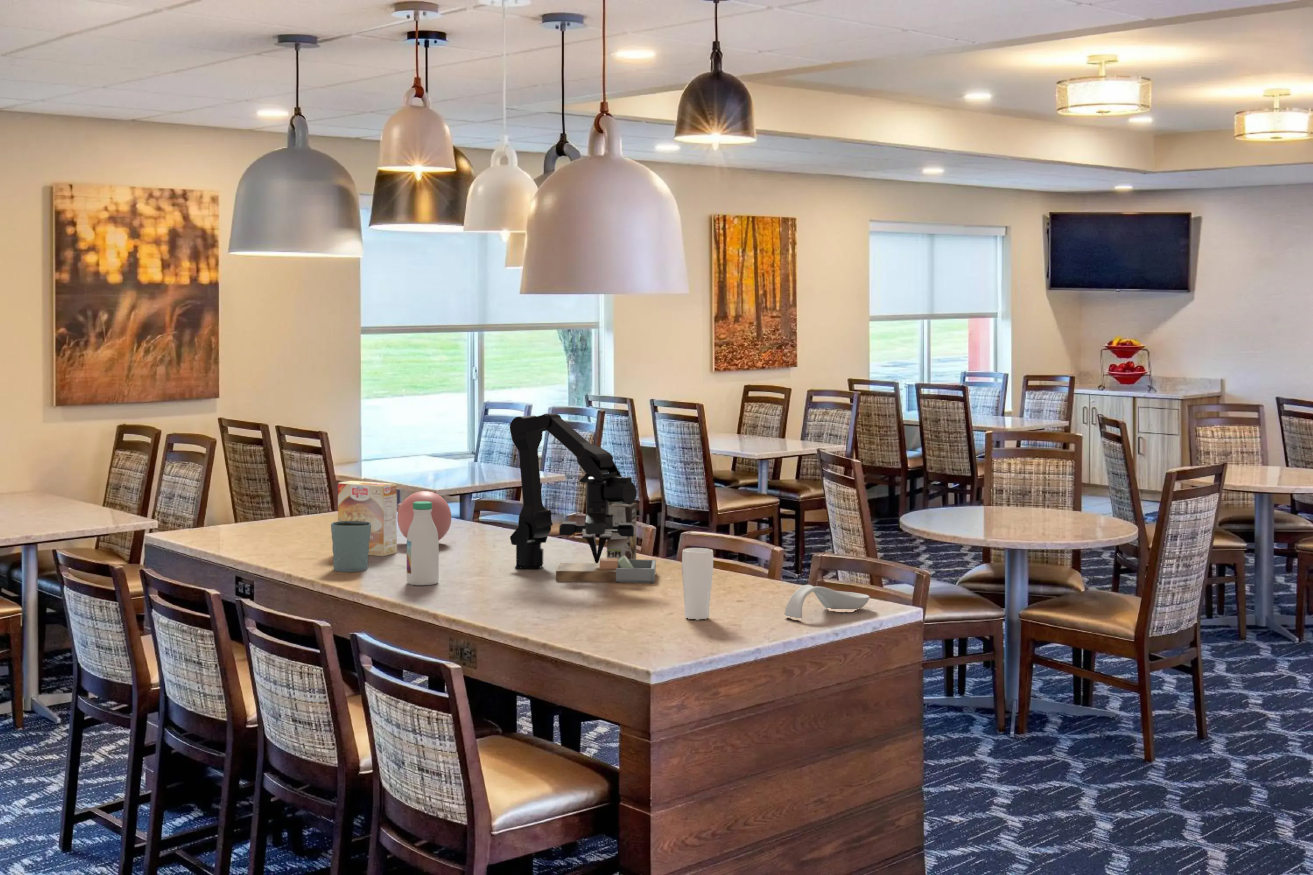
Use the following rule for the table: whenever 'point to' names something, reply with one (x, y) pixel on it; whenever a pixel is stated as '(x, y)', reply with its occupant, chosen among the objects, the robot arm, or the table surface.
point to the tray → (637, 572)
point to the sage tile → (624, 562)
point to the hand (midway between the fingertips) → (596, 562)
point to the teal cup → (350, 545)
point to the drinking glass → (697, 581)
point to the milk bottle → (422, 547)
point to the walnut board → (584, 572)
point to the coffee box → (618, 543)
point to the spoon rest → (824, 599)
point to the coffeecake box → (371, 512)
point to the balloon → (438, 513)
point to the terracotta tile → (608, 563)
